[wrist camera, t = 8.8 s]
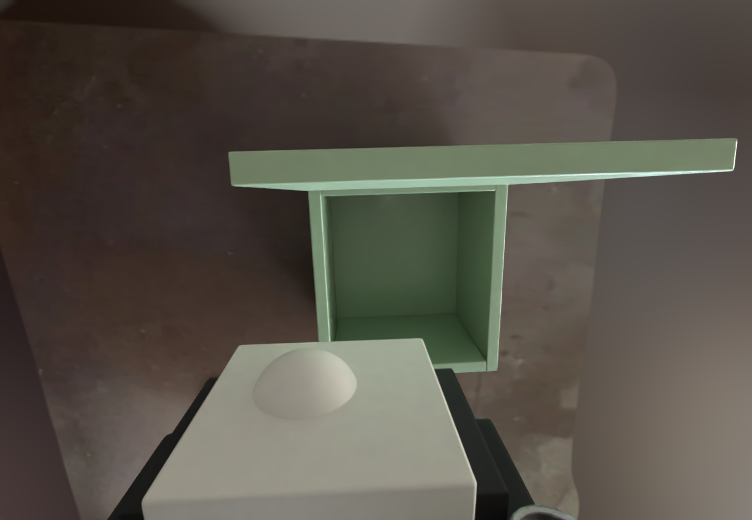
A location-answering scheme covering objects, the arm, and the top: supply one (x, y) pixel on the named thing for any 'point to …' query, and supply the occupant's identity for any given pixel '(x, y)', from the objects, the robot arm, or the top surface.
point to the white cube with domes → (319, 439)
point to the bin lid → (476, 164)
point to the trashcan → (412, 268)
